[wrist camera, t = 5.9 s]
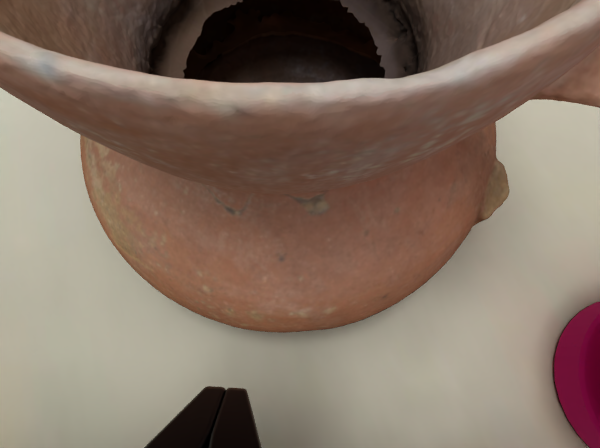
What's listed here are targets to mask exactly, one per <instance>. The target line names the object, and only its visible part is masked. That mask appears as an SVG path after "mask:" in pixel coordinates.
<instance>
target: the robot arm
mask: <svg viewBox="0 0 600 448" xmlns="http://www.w3.org/2000/svg"><path fill="white" fill-rule="evenodd" d="M144 448H261V444H260V440H259V436H258V432H257V428H256V424H255V420H254V416H253V413H252V409H251V405H250V401H249V397H248V393H247V391H246V390H245V389H241V388H228V389H227V390H226V389H225V388H223V387H211V386H208V387H205V388H204V389H203V390H202V391H201V392H200V393H199V394H198V395H197V396H196V397H195V398H194V399H193V400H192V401H191V402H190V403H189V404H188V405H187V406H186V407H185V408H184V409H183V410H182V411H181V412H180V413H179V414H178V415H177V416H176V417H175V418H174V419H173V420H172V421H171V422H170V423H169V424H168V425H167V426H166V427H165V428H164V429H163V430H162V431H161V432H160V433H159V434H158V435H157V436H156V437H155V438H154V439H153V440H152V441H151V442H150V443H149V444H147V445H146V446H145V447H144Z"/></svg>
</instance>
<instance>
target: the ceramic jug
mask: <svg viewBox="0 0 600 448" xmlns="http://www.w3.org/2000/svg"><path fill="white" fill-rule="evenodd" d="M0 87H1V88H2V89H4V90H5V91H7V92H8V93H10V94H12V95H13V96H15V97H16V98H18V99H20V100H21V101H23V102H25V103H27V104H28V105H30V106H32V107H33V108H35V109H37V110H38V111H40V112H42V113H43V114H45V115H47V116H49V117H50V118H52V119H54V120H55V121H57V122H59V123H61V124H62V125H64V126H66V127H68V128H70V129H72V130H73V131H75V132H77V133H79V134H81V138H80V145H81V160H82V168H83V174H84V179H85V184H86V188H87V191H88V195H89V198H90V201H91V203H92V206H93V208H94V211H95V213H96V215H97V217H98V219H99V221H100V223H101V225H102V227H103V229H104V231H105V233H106V234H107V236H108V237H109V239H110V240H111V242H112V243H113V245H114V246H115V247H116V249H117V250H118V251H119V253H120V254H121V255H122V257H123V258H124V259H125V260H126V261H127V262H128V264H129V265H130V266H131V267H132V268H133V269H134V270H135V271H136V272H137V273H138V274H139V275H140V276H141V277H142V278H144V279H145V280H146V281H147V282H148V283H150V284H151V285H152V286H153V287H154V288H155V289H157V290H158V291H160V292H161V293H162V294H164V295H165V296H167V297H168V298H170V299H171V300H173V301H175V302H176V303H178V304H180V305H182V306H183V307H185V308H187V309H189V310H191V311H193V312H195V313H198V314H200V315H202V316H204V317H206V318H209V319H212V320H215V321H218V322H221V323H224V324H227V325H231V326H234V327H238V328H242V329H248V330H255V331H265V332H299V331H311V330H322V329H330V328H335V327H339V326H344V325H347V324H350V323H354V322H357V321H360V320H363V319H365V318H368V317H370V316H372V315H374V314H376V313H379V312H381V311H383V310H385V309H387V308H389V307H391V306H392V305H394V304H396V303H398V302H399V301H401V300H402V299H404V298H405V297H407V296H408V295H410V294H411V293H413V292H414V291H415V290H417V289H418V288H420V287H421V286H422V285H423V284H425V283H426V282H427V281H428V280H429V279H430V278H431V277H432V276H433V275H434V274H435V273H437V272H438V271H439V270H440V269H441V267H442V266H444V265H445V264H446V262H447V261H448V260H449V259H450V258H451V257H452V255H453V254H454V253H455V251H456V250H457V249H458V247H459V246H460V245H461V243H462V242H463V240H464V239H465V238H466V236H467V235H468V233H469V232H470V230H471V228H472V227H473V225H475V224H477V223H479V222H481V221H482V220H485V219H488V218H489V217H490V216H491V215H492V213H493V212H494V211H495V210H496V209H497V208H498V207H500V206H501V205H502V204H503V202H504V201H505V200H506V199H507V197H508V195H509V186H508V180H507V174H506V171H505V168H504V165H503V164H502V163H501V162H499V161H498V160H497V158H496V125H495V122H496V121H497V120H499V119H501V118H502V117H504V116H506V115H507V114H509V113H510V112H511V111H513V110H514V109H516V108H517V107H519V106H520V105H522V104H524V103H525V102H527V101H528V100H533V99H548V100H557V101H567V102H572V103H579V104H584V105H589V106H595V107H599V108H600V0H0Z"/></svg>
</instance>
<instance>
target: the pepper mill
mask: <svg viewBox="0 0 600 448" xmlns="http://www.w3.org/2000/svg"><path fill="white" fill-rule="evenodd" d="M554 376H555V385H556V389H557V392H558V396H559V400H560V403H561V405H562V407H563V410H564V412H565V414H566V416H567V419H568V420H569V422H570V423H571V425H572V426H573V428H574V429H575V431H576V432H577V434H578V435H579V436H580V438H581V439H582V440H583V441H584V442H585V443H586V444H587V445H588V446H589V447H590V448H600V302H596V303H594V304H592V305H590V306H588V307H586V308H585V309H583V310H582V311H580V312H579V313H578V314H577V315H576V316H575V317H574V318H573V319H572V320H571V321H570V322H569V324H568V325H567V326H566V328H565V329H564V331H563V333H562V335H561V337H560V339H559V343H558V346H557V350H556V354H555V361H554Z"/></svg>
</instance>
